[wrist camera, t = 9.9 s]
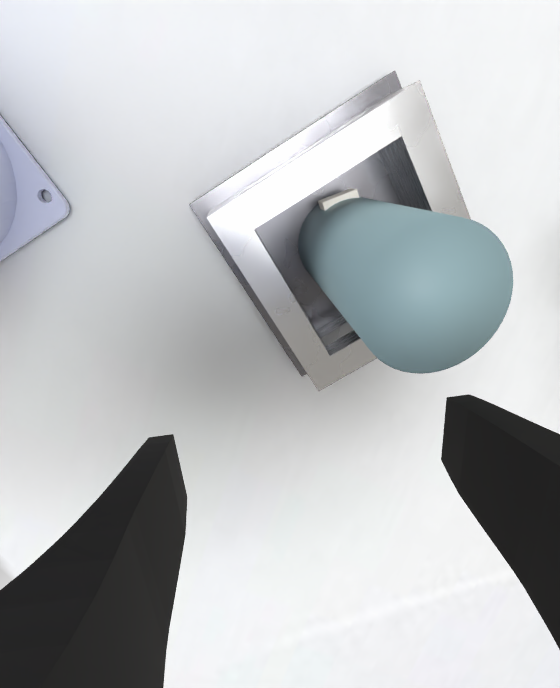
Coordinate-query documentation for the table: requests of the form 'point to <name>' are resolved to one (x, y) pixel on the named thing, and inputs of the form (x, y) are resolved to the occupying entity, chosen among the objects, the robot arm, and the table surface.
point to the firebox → (303, 195)
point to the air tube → (408, 278)
